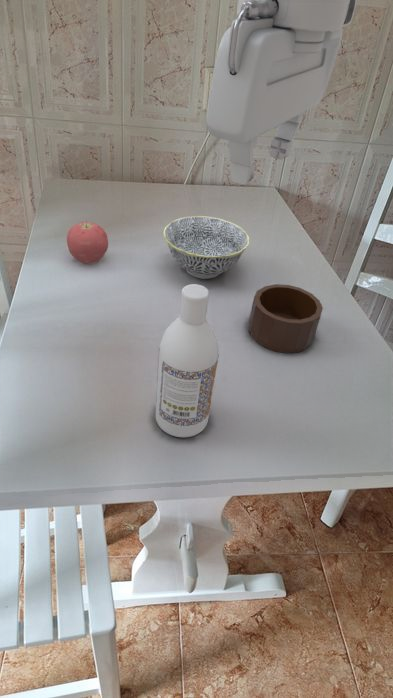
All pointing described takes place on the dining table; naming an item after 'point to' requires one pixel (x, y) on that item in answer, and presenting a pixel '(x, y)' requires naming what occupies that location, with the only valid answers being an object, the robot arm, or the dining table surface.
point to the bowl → (205, 244)
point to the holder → (284, 318)
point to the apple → (87, 242)
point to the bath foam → (187, 367)
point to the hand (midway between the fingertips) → (261, 168)
